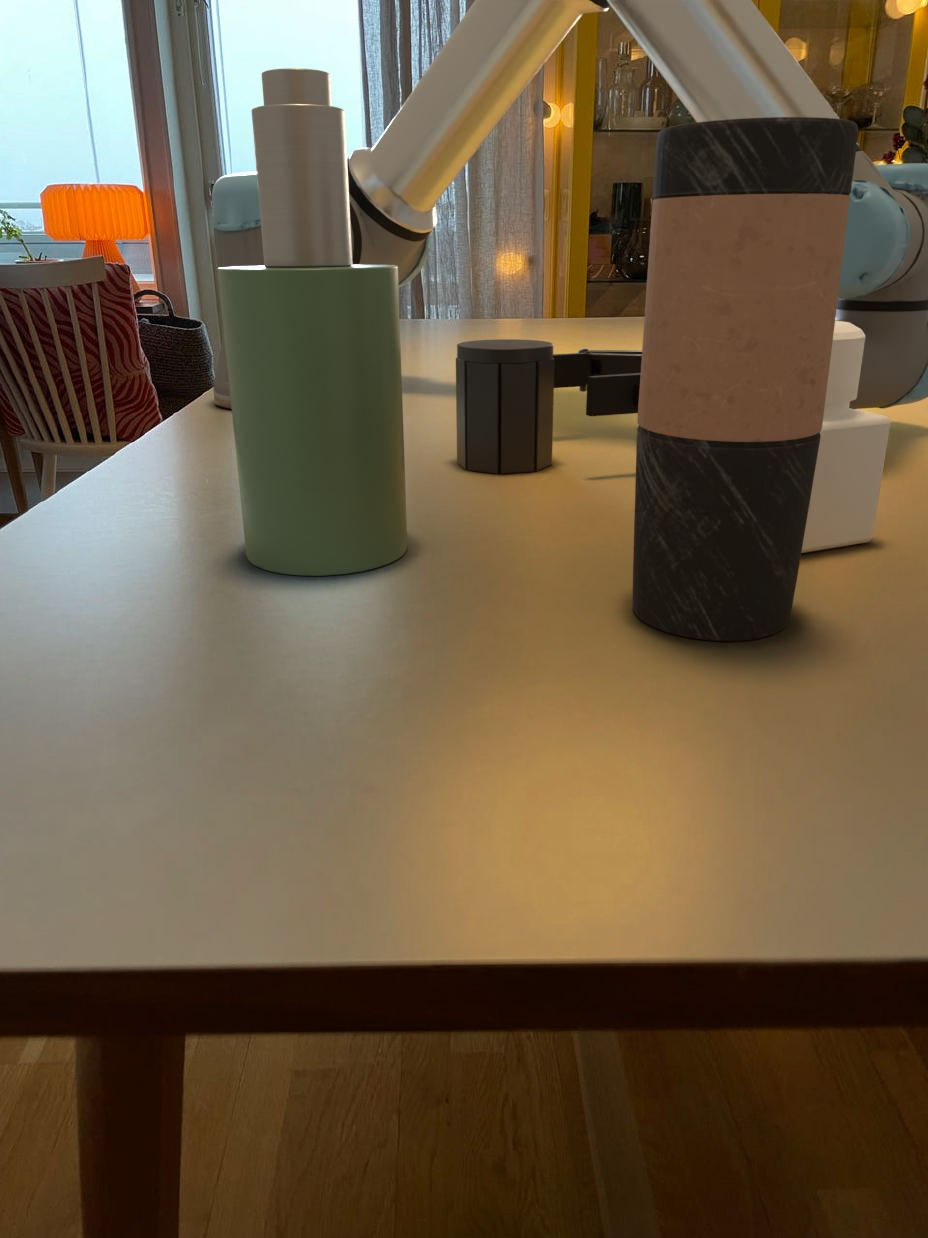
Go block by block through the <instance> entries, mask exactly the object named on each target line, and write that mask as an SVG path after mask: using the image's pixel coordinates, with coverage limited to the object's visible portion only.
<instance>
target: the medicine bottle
mask: <svg viewBox="0 0 928 1238" xmlns="http://www.w3.org/2000/svg"><path fill="white" fill-rule="evenodd" d="M864 343H865V334H864V333H863V331H862V329H860V328H858V327H857V326H855V325H853V324H851V323H849V322H845V321H837V320H835V326H834V334H833V342H832V350H831V358H830V366H829V375H828V383H827V391H826V399H825V407H824V415H823V423H822V429H821V431H820V435H821V437H820V443H819V449H818V455H817V461H816V467H815V473H814V479H813V485H812V491H811V497H810V503H809V509H808V516H807V522H806V528H805V534H804V540H803V546H802V552H801V554H806V553H812V552H817V551H823V550H829V549H836V548H841V547H848V546H853V545H859V544H865V543H869V542H871V541H872V539H873V536H874V530H875V522H876V517H877V510H878V503H879V498H880V492H881V486H882V480H883V473H884V466H885V460H886V453H887V447H888V442H889V435H890V430H891V429H890V428H891V418H890V417H889V416H887V415H885V414H881V413H875V412H870V411H865V410H862V409H851V408H849V404H850V401H853V400H855V399H856V398H857V392H858V385H859V378H860V371H861V364H862V357H863V350H864Z"/></svg>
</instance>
